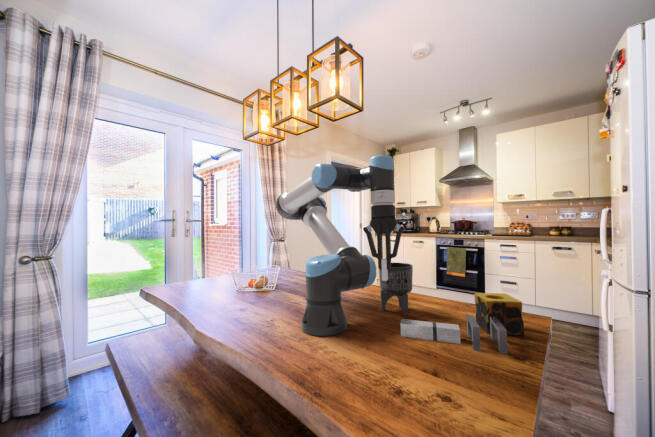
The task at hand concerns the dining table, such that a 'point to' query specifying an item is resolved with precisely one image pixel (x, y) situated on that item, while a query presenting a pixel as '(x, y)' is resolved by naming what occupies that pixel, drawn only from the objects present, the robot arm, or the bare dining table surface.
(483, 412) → the dining table surface
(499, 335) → the collar
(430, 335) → the banded white block
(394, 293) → the planter
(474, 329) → the collar
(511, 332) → the candle
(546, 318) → the dining table surface
